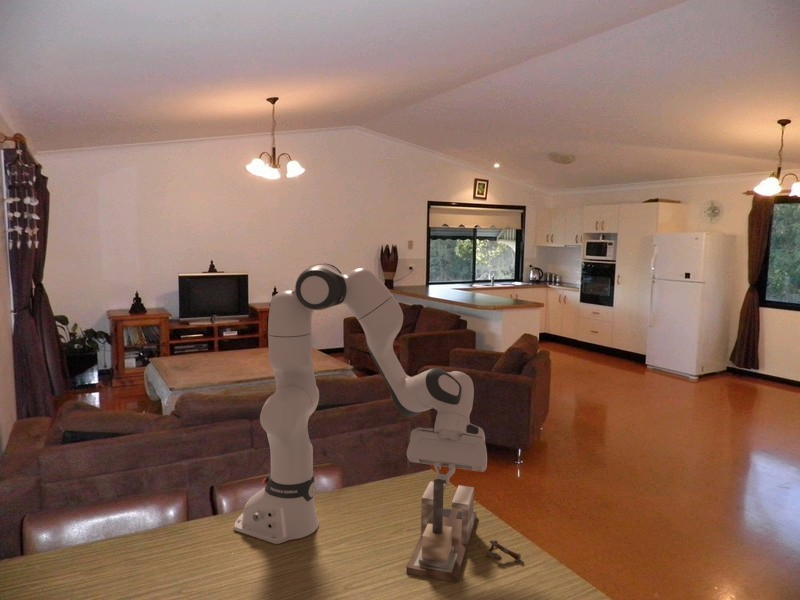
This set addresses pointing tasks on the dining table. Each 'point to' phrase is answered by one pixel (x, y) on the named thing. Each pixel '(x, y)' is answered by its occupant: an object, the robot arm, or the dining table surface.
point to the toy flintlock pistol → (503, 549)
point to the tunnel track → (461, 532)
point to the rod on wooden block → (437, 534)
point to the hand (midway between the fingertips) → (442, 482)
